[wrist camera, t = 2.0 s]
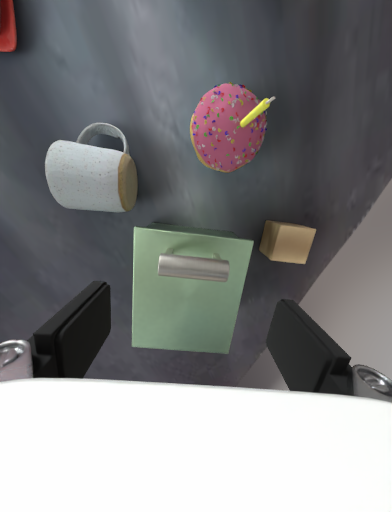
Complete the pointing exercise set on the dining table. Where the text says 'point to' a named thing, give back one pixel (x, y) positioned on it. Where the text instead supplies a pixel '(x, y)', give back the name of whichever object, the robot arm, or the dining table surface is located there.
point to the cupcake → (228, 127)
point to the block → (286, 241)
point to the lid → (186, 289)
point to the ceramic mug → (92, 173)
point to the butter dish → (7, 26)
